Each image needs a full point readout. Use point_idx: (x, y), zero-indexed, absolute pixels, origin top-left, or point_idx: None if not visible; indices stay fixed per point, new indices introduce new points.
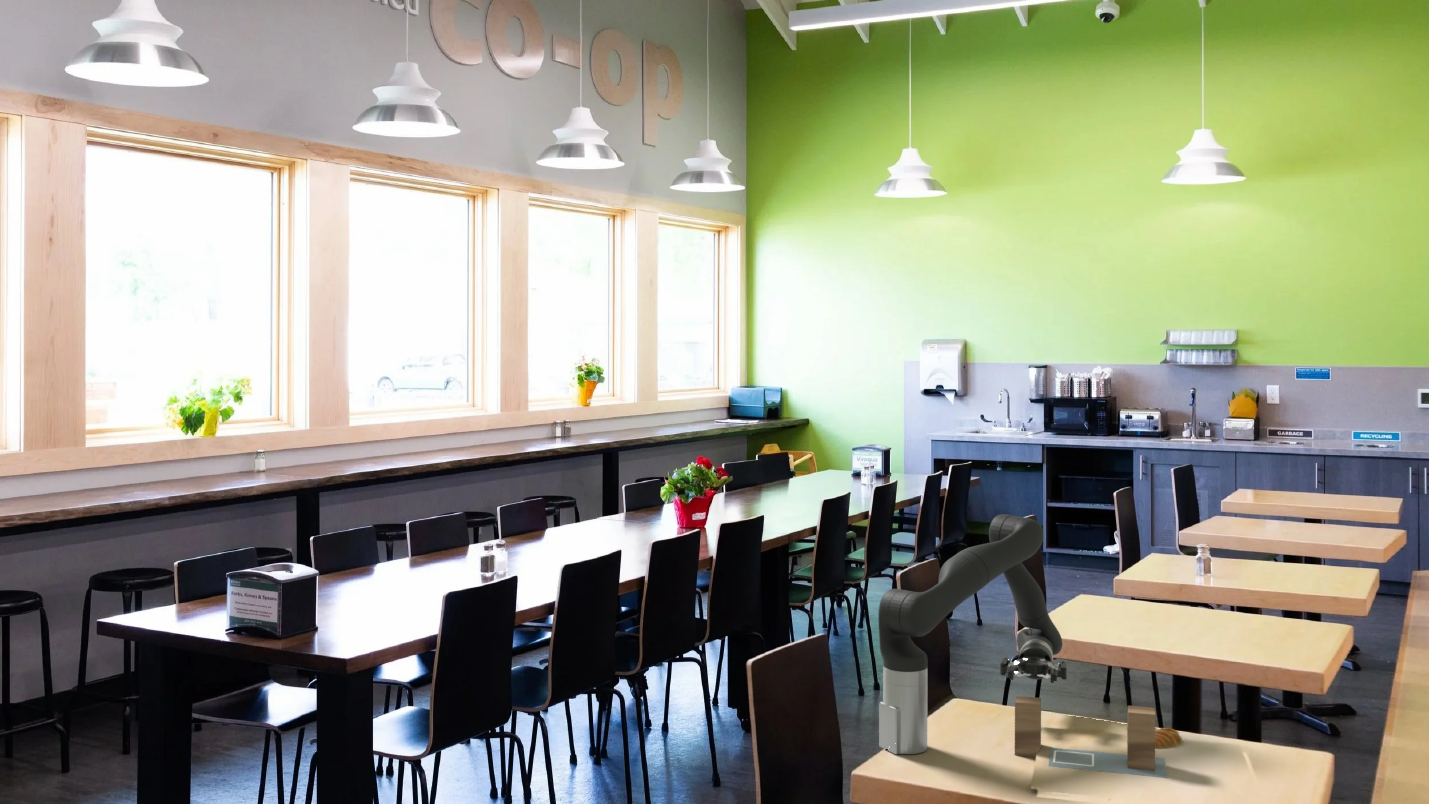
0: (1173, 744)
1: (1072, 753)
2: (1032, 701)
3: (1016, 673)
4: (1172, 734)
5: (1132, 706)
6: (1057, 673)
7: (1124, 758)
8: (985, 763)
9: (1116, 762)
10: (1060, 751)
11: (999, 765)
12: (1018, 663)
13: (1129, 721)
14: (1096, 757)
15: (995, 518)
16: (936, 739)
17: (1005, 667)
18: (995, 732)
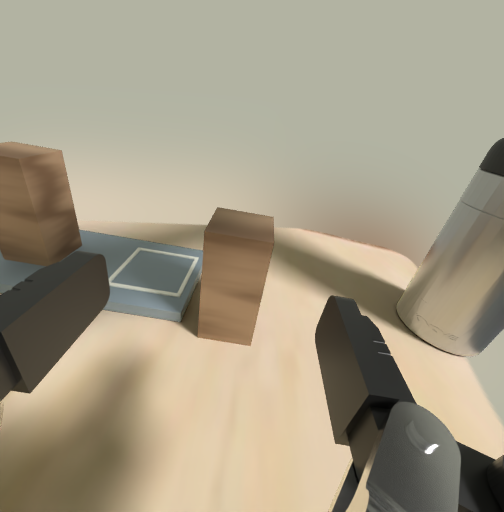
0: None
1: (147, 288)
2: (232, 217)
3: (335, 498)
4: None
5: (11, 156)
6: (19, 283)
7: None
8: (295, 279)
9: None
10: (168, 292)
11: (274, 274)
12: (364, 487)
13: (63, 167)
14: (108, 274)
15: None
16: (427, 378)
17: (457, 444)
18: (321, 485)
